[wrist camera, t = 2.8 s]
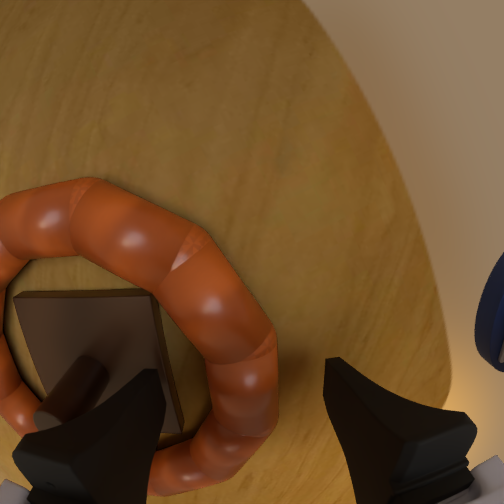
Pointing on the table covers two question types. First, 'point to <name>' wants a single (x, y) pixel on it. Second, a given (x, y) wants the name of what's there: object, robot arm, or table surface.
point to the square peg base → (94, 349)
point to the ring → (171, 299)
